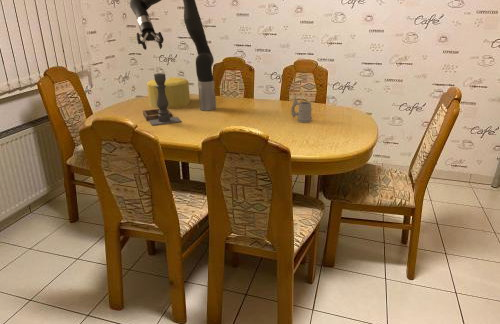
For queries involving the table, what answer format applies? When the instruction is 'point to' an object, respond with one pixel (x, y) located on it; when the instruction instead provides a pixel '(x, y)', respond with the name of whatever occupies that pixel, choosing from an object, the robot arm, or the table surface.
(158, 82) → the candle holder
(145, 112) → the walnut frame
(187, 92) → the cheese
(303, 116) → the mug
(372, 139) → the table surface
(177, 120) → the rubber mat
